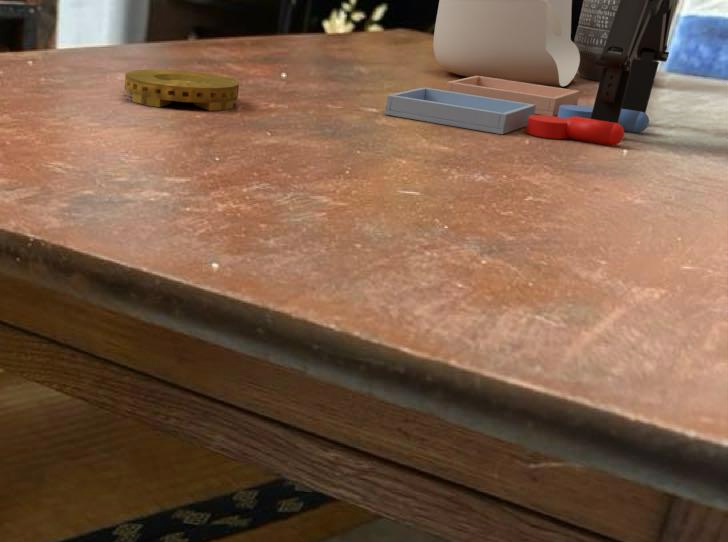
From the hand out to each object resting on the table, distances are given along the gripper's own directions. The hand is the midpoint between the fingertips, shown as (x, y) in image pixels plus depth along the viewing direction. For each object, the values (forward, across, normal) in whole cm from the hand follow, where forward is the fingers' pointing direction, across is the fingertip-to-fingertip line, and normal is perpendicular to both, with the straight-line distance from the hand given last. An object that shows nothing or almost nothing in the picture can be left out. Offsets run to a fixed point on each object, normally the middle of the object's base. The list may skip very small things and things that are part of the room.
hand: (616, 127), depth 122 cm
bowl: (+1, -30, -24) cm, 38 cm away
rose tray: (0, -7, -14) cm, 16 cm away
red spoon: (0, +12, -1) cm, 12 cm away
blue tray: (0, +11, -14) cm, 18 cm away
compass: (+1, +29, -39) cm, 48 cm away
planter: (0, -49, -13) cm, 51 cm away
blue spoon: (0, 0, -1) cm, 1 cm away
